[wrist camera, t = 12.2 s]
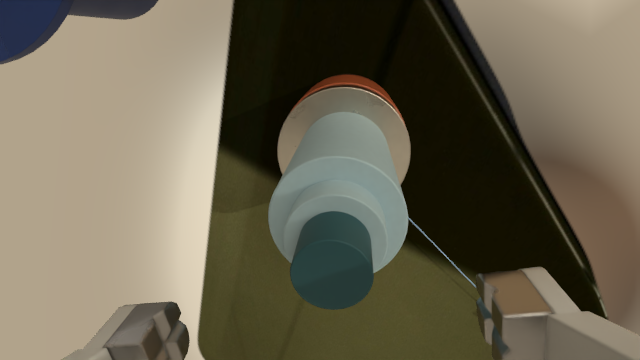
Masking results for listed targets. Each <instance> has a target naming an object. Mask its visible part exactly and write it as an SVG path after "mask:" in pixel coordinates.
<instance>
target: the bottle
mask: <svg viewBox="0 0 640 360" xmlns="http://www.w3.org/2000/svg"><path fill="white" fill-rule="evenodd" d="M268 220H269V227H270V231H271V235H272V238H273V240H274V242H275V244H276V246H277V247H278V249H279V250H280V252H281V253H282V254H283V256H284V257H285V258H286V259H287V260H288V261H289V262H290V263H291V267H290V276H291V281H292V284H293V286H294V288H295V290H296V291H297V293H298V294H299V295H300V296H301V297H302V298H303V299H304V300H306V301H307V302H309V303H311V304H312V305H315V306H317V307H320V308H324V309H332V310H334V309H344V308H348V307H351V306H353V305H355V304H357V303H358V302H360V301H361V300H362V299H363V298H364V297H365V296H366V295H367V294H368V292H369V291H370V289H371V287H372V284H373V278H374V273H375V272H376V271H378V270H380V269H381V268H383V267H384V266H385V265H387V264H388V263H389V262H390V261H391V260H392V259H393V258H394V256H395V255H396V254H397V253H398V251H399V249H400V248H401V246H402V244H403V242H404V240H405V236H406V233H407V227H408V212H407V206H406V203H405V200H404V196H403V193H402V190H401V187H400V183H399V180H398V177H397V173H396V170H395V167H394V164H393V160H392V157H391V154H390V150H389V147H388V144H387V141H386V138H385V136H384V134H383V133H382V131H381V130H380V129H379V127H378V126H377V125H376V124H375V123H373V122H372V121H371V120H369V119H368V118H366V117H364V116H362V115H359V114H356V113H351V112H337V113H332V114H329V115H326V116H324V117H322V118H320V119H319V120H317V121H316V122H315V123H314V124H313V125H312V126H311V127H310V128H309V129H308V130H307V132H306V133H305V135H304V137H303V139H302V141H301V142H300V144H299V146H298V148H297V150H296V152H295V153H294V155H293V157H292V159H291V161H290V163H289V165H288V166H287V168H286V170H285V172H284V174H283V176H282V177H281V179H280V181H279V183H278V185H277V187H276V189H275V190H274V193H273V195H272V197H271V201H270V205H269V212H268Z"/></svg>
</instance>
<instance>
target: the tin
mask: <svg viewBox="0 0 640 360" xmlns="http://www.w3.org/2000/svg"><path fill="white" fill-rule="evenodd" d="M337 112H351V113H356V114H359V115H362V116H364V117H366V118H368V119H369V120H371V121H372V122H373V123H375V124H376V125H377V126H378V127H379V129H380V130H381V131H382V133H383V134H384V136H385V138H386V141H387V144H388V147H389V150H390V154H391V157H392V160H393V164H394V167H395V170H396V173H397V177H398V180H399V183H400V185H401V183H402V182H403V180H404V178H405V176H406V173H407V171H408V167H409V163H410V156H411V145H410V139H409V135H408V131H407V128H406V126H405V122H404V120H403V118H402V116H401V114H400V112H399V111H398V109H397V107H396V106H395V104H394V102H393V101H392V99H391V98H390V96H389V95H388V94H387V93H386V91H385V90H384V89H383V88H381V87H380V86H379V85H378V84H377V83H375V82H374V81H372V80H370V79H368V78H366V77H363V76H360V75H355V74H339V75H335V76H331V77H329V78H326V79H324V80H323V81H321V82H319V83H317V84H316V85H315V86H313V87H312V88H311V89H310V90H309V91H308V92H307V93H306V94H305V95H304V96H303V97H302V98H301V99H300V100H299V101H298V103H297V104H296V105H295V106H294V107H293V109H292V110H291V112H290V114H289V115H288V117H287V118H286V120H285V122H284V124H283V126H282V129H281V131H280V135H279V139H278V147H277V149H278V161H279V166H280V169H281V172H282V175H283V174H284V172H285V170H286V168H287V166H288V165H289V163H290V161H291V159H292V157H293V155H294V153H295V152H296V150H297V148H298V146H299V144H300V142H301V141H302V139H303V137H304V135H305V133H306V132H307V130H308V129H309V128H310V127H311V126H312V125H313V124H314V123H315V122H316V121H317V120H319V119H320V118H322V117H324V116H326V115H329V114H332V113H337Z"/></svg>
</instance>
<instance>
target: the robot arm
mask: <svg viewBox="0 0 640 360" xmlns="http://www.w3.org/2000/svg"><path fill="white" fill-rule="evenodd" d="M476 289H477V291H478V293H479V295H480V298H479V299H478V300H477V302H476V306H477V316H478V321H479V326H480V329H481V332H482V334H483V337H484V339H485V341H486V342H488V343H489V344H490V345H492V357H493V359H494V360H640V335H638V334H636V333H633V332H631V331H629V330H627V329H625V328H623V327H621V326H619V325H616V324H614V323H612V322H610V321H608V320H606V319H604V318H602V317H599V316H597V315H595V314H593V313H591V312H589V311H586V312H581V311H580V310H579V308H578V307H577V306H576V305H575V304H574V303H573V301H572V300H571V299H570V298H569V297H568V296H567V294H566V293H565V292H564V291H563V290H562V289H561V287H560V286H559V285H558V284H557V283H556V282H555V280H554V279H553V278H552V277H551V276H550V275H549V273H548V272H547V271H546V270H545V269H544V268H542V267H534V268H525V269H519V270H513V271H503V272H492V273H482V274H477V276H476ZM180 315H181V312H180V309H179V307H178V305H177V303H174V302H161V303H145V304H134V305H124V306H122V307H119V308H118V310H117V311H116V312H115V313H114V314H113V315H112V316H111V318H110V319H109V320H108V321H107V322H106V323H105V324H104V326H103V327H102V328H101V329H100V330H99V331H98V333H97V334H96V335H95V336H94V337H93V338H92V339H91V341H90V342H89V343H88V344H87V345H86V346H85V347H84V349H82V350H77V351H75V352H73V353H72V354H70V355H68V356H67V357H65V358H64V359H62V360H184V358H185V356H186V354H187V352H188V347H189V333H188V330H187V327H186V325H185V324H183V323H182V322H181V321H179V317H180Z"/></svg>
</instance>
